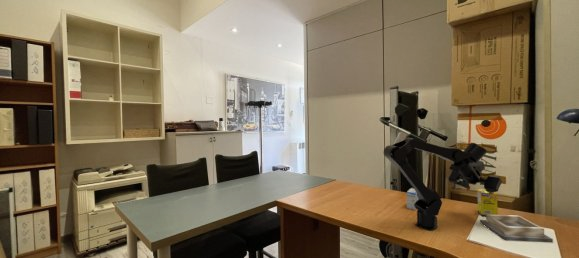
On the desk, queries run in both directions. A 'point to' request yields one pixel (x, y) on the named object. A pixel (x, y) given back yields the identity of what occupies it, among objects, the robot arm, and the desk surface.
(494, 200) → the supplement box
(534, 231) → the board
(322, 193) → the desk surface
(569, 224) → the desk surface
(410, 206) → the medicine box
